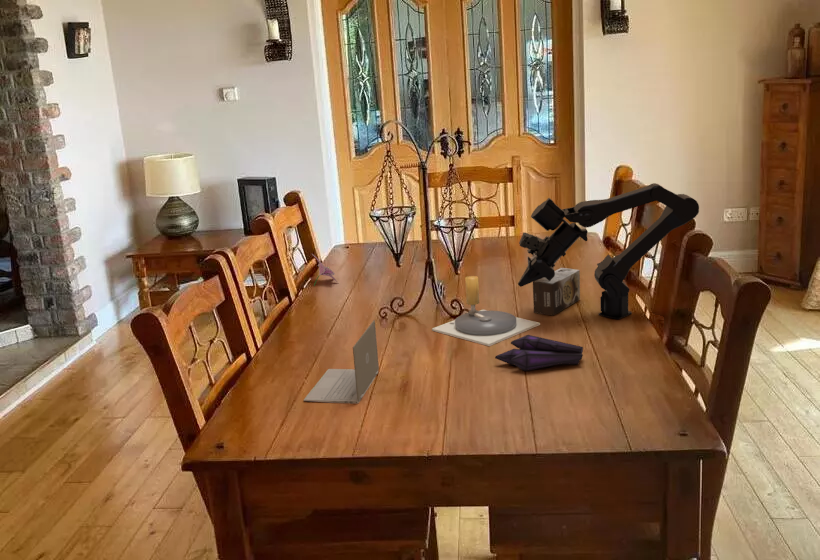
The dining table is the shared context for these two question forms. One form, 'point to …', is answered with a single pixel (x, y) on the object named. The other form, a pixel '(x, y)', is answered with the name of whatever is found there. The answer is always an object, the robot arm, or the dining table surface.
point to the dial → (482, 315)
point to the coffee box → (556, 291)
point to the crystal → (540, 353)
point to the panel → (486, 339)
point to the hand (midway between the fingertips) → (519, 285)
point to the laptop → (350, 374)
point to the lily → (324, 270)
